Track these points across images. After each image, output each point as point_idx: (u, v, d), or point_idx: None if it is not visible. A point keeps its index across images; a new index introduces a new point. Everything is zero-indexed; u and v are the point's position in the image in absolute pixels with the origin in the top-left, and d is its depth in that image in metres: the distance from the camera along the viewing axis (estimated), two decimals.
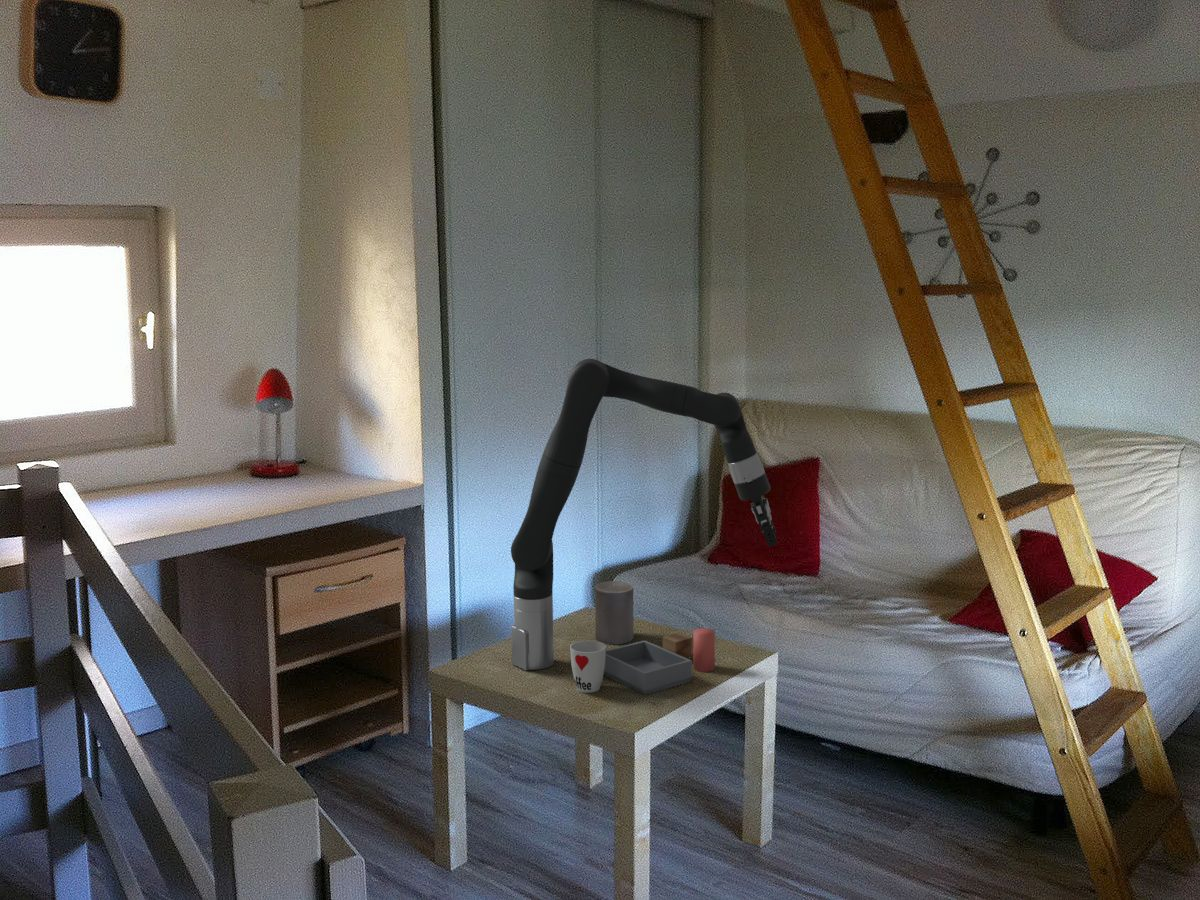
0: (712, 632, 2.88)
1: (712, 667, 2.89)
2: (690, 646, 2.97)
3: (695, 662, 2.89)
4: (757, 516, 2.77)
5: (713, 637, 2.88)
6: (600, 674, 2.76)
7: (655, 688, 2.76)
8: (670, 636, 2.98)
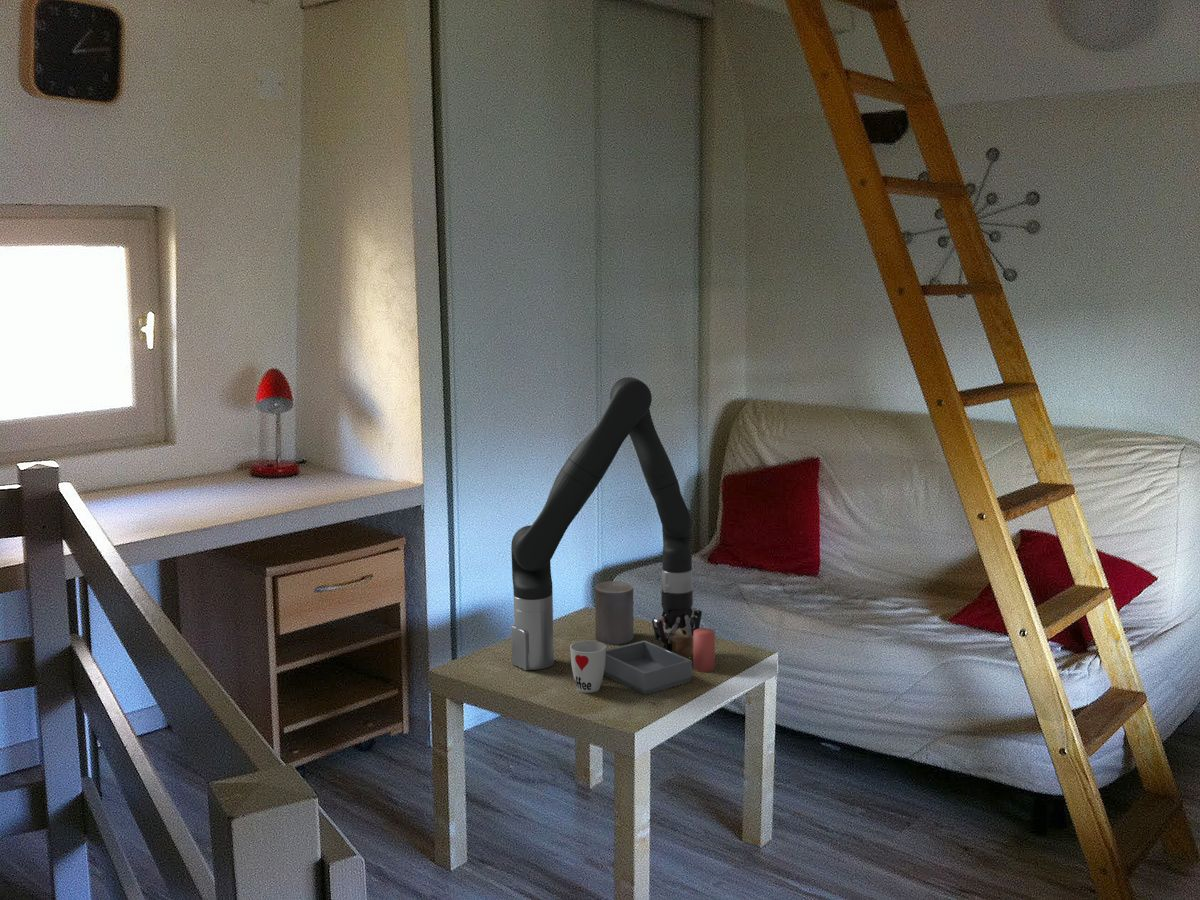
0: (712, 632, 2.88)
1: (712, 667, 2.89)
2: (690, 646, 2.97)
3: (695, 662, 2.89)
4: (654, 628, 2.94)
5: (713, 637, 2.88)
6: (600, 674, 2.76)
7: (655, 688, 2.76)
8: None
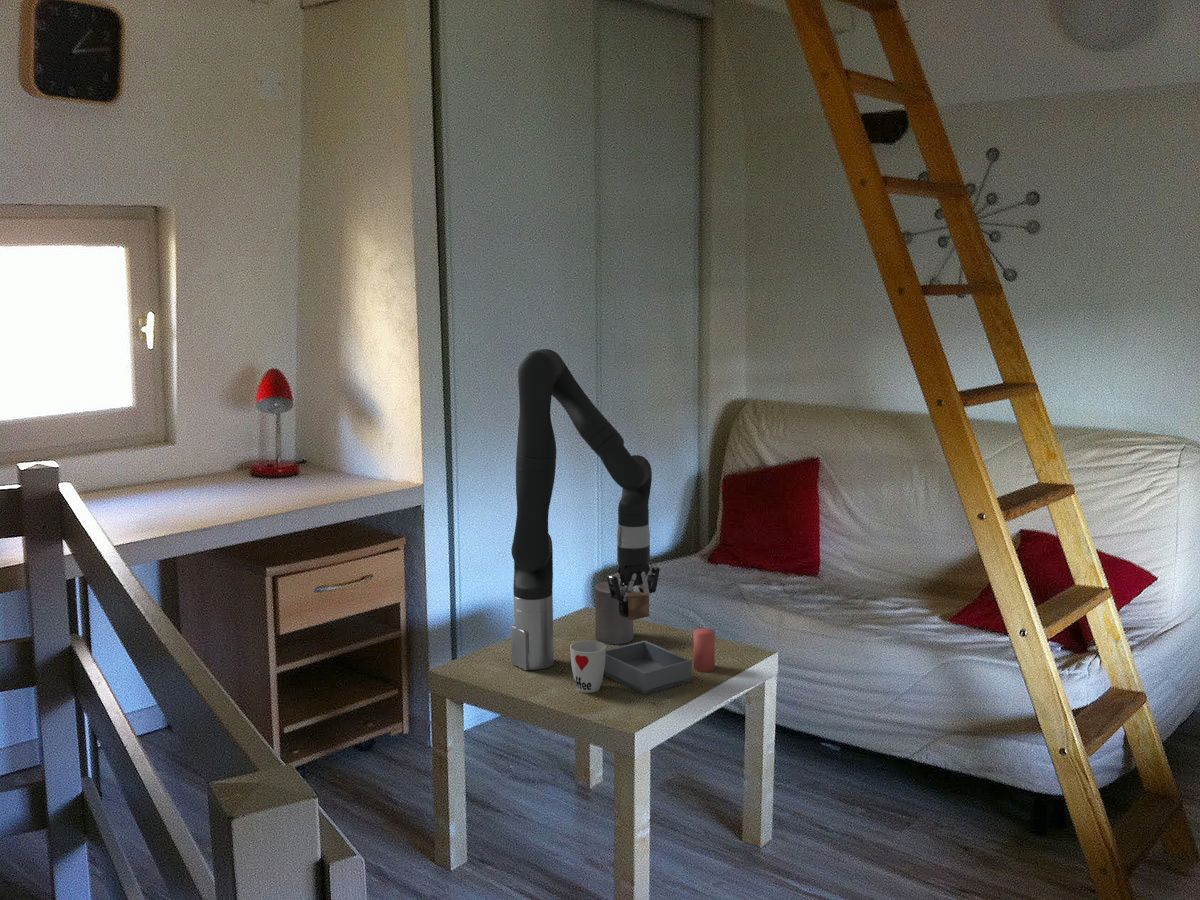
0: (712, 632, 2.88)
1: (712, 667, 2.89)
2: (647, 604, 2.85)
3: (695, 662, 2.89)
4: (609, 584, 2.82)
5: (713, 637, 2.88)
6: (600, 674, 2.76)
7: (655, 688, 2.76)
8: None
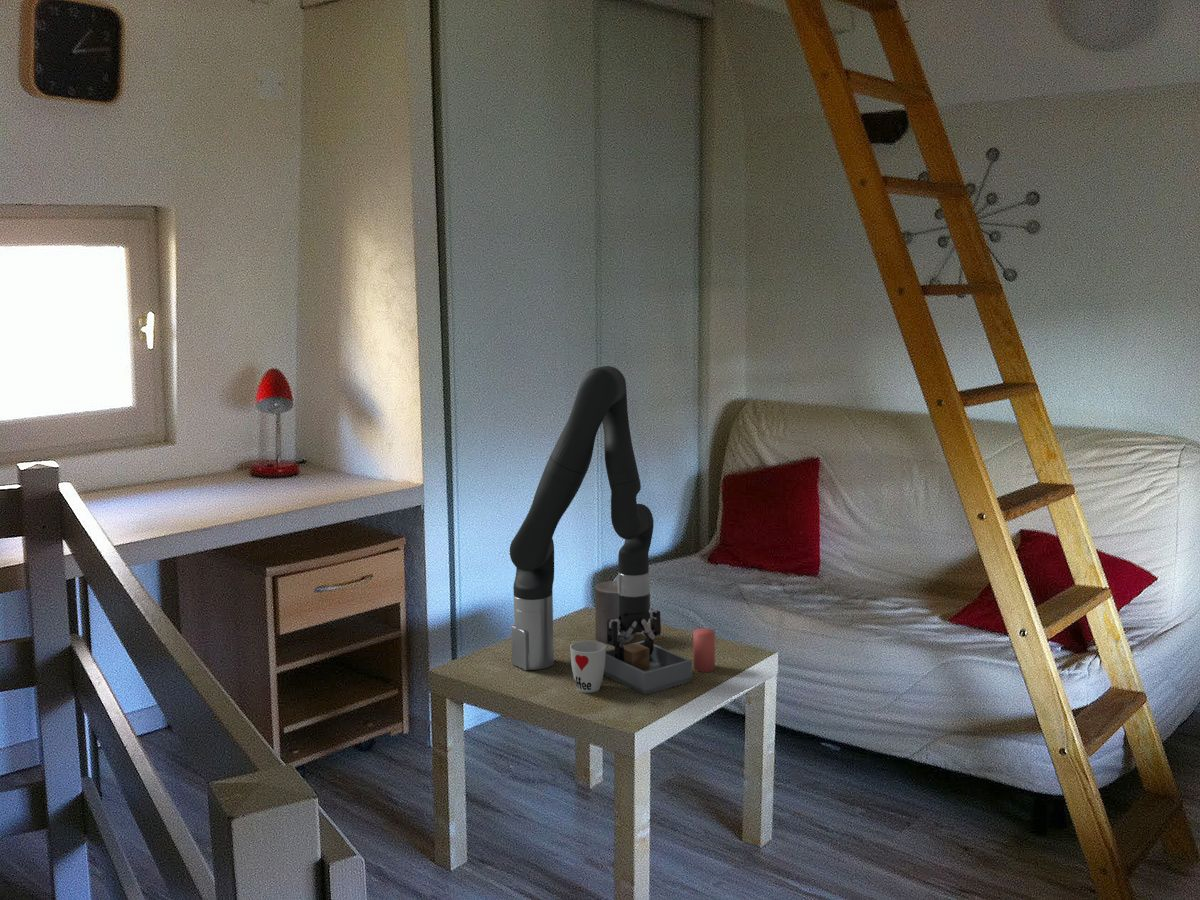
0: (712, 632, 2.88)
1: (712, 667, 2.89)
2: (648, 657, 2.87)
3: (695, 662, 2.89)
4: (607, 629, 2.83)
5: (713, 637, 2.88)
6: (600, 674, 2.76)
7: (655, 688, 2.76)
8: (627, 646, 2.88)
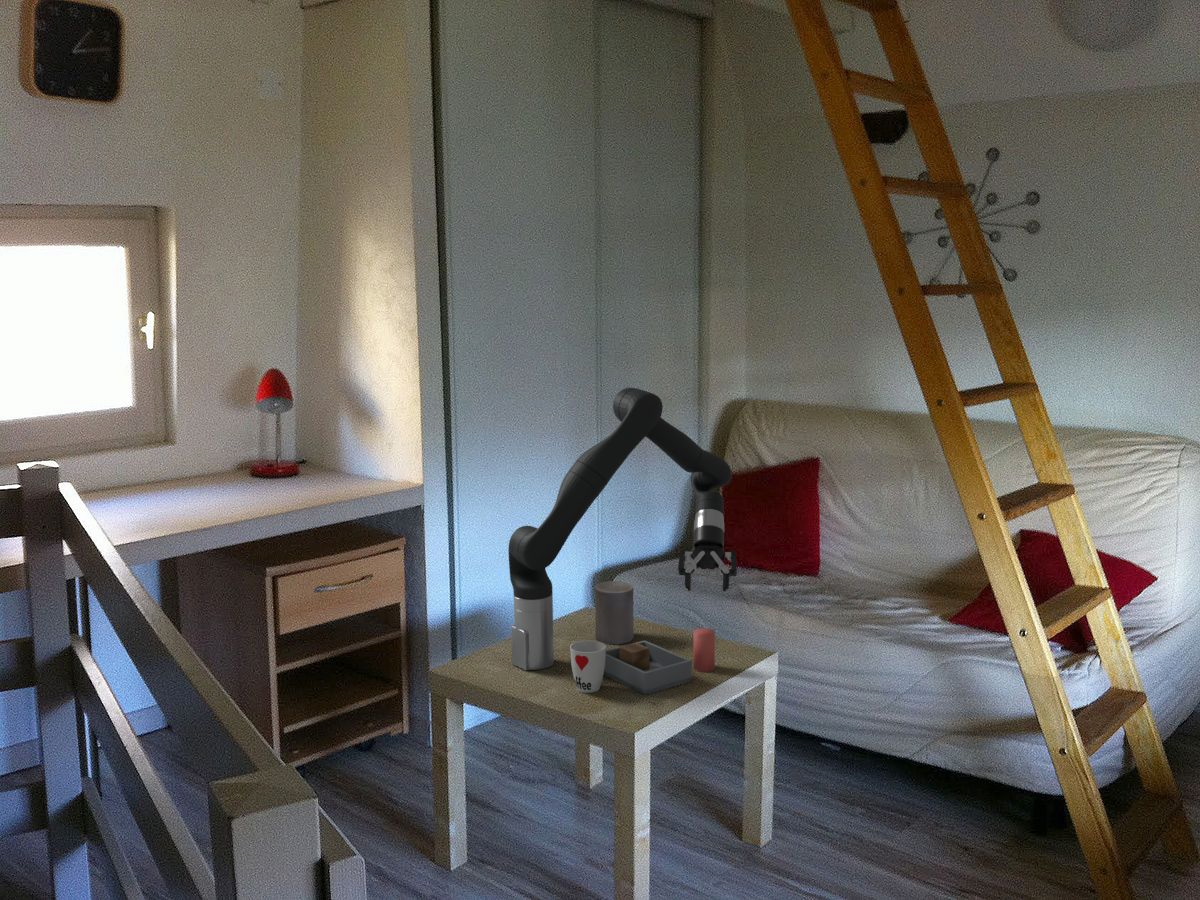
0: (712, 632, 2.88)
1: (712, 667, 2.89)
2: (648, 657, 2.87)
3: (695, 662, 2.89)
4: None
5: (713, 637, 2.88)
6: (600, 674, 2.76)
7: (655, 688, 2.76)
8: (627, 646, 2.88)
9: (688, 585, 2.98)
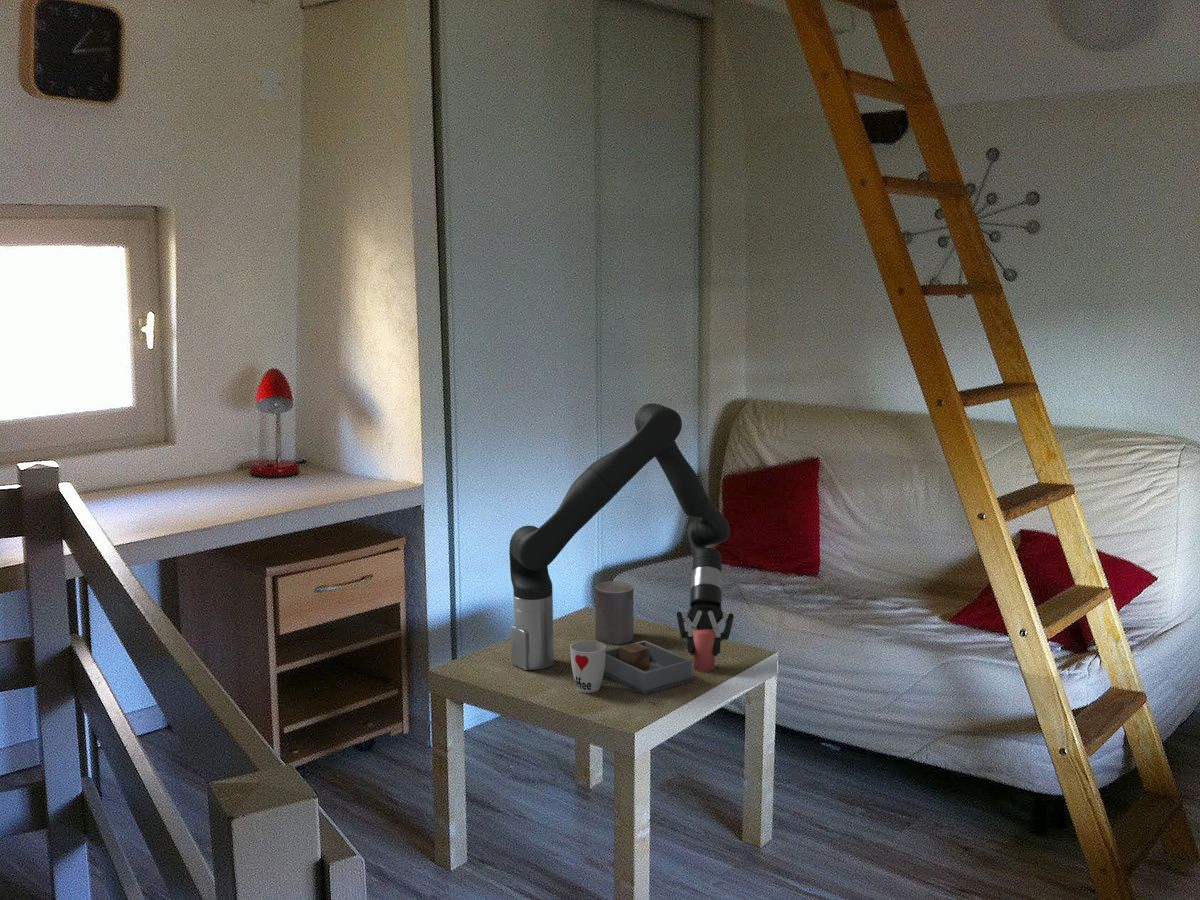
0: (712, 632, 2.88)
1: (712, 667, 2.89)
2: (648, 657, 2.87)
3: (695, 662, 2.89)
4: (731, 622, 2.91)
5: (713, 637, 2.88)
6: (600, 674, 2.76)
7: (655, 688, 2.76)
8: (627, 646, 2.88)
9: (691, 650, 2.88)
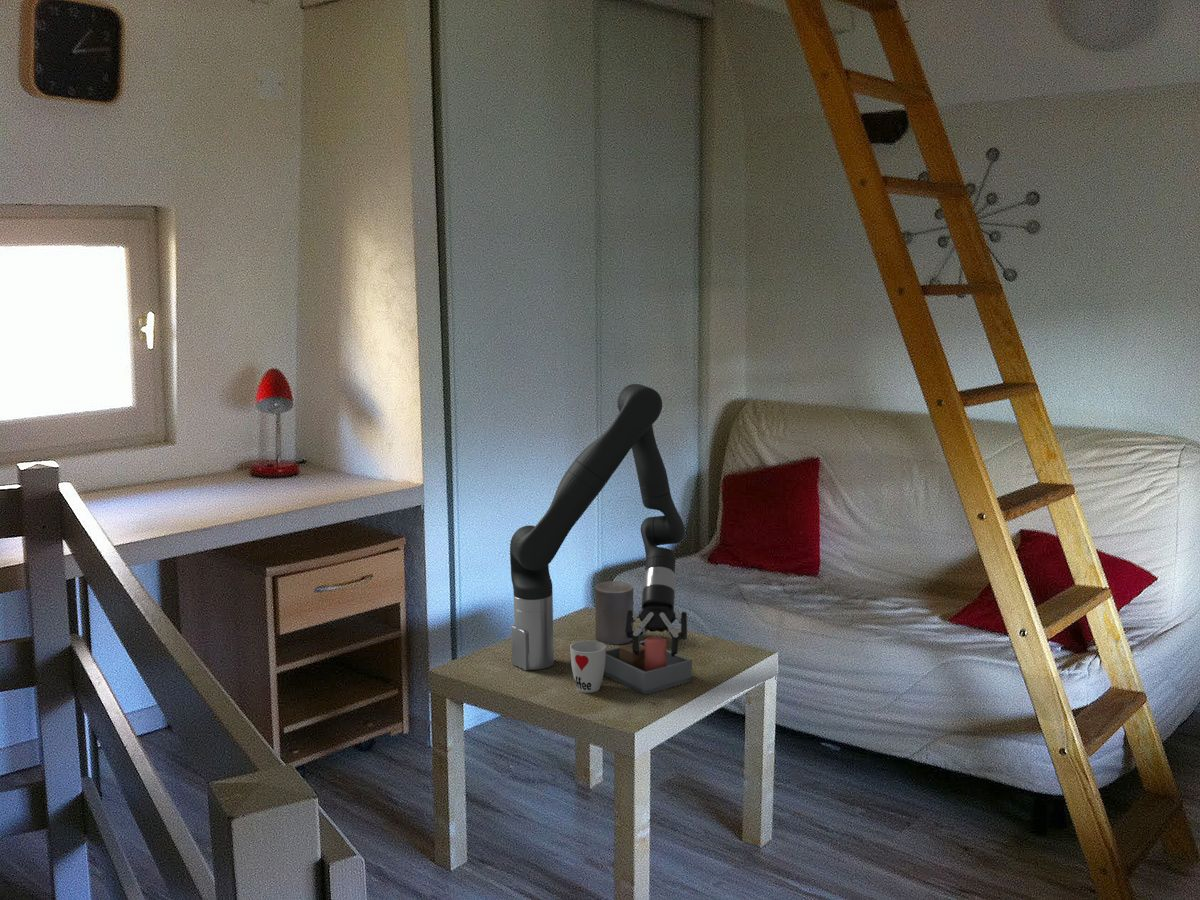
0: (663, 640, 2.80)
1: None
2: None
3: (646, 671, 2.80)
4: (686, 621, 2.82)
5: (664, 645, 2.79)
6: (600, 674, 2.76)
7: (655, 688, 2.76)
8: (627, 646, 2.88)
9: (636, 649, 2.79)
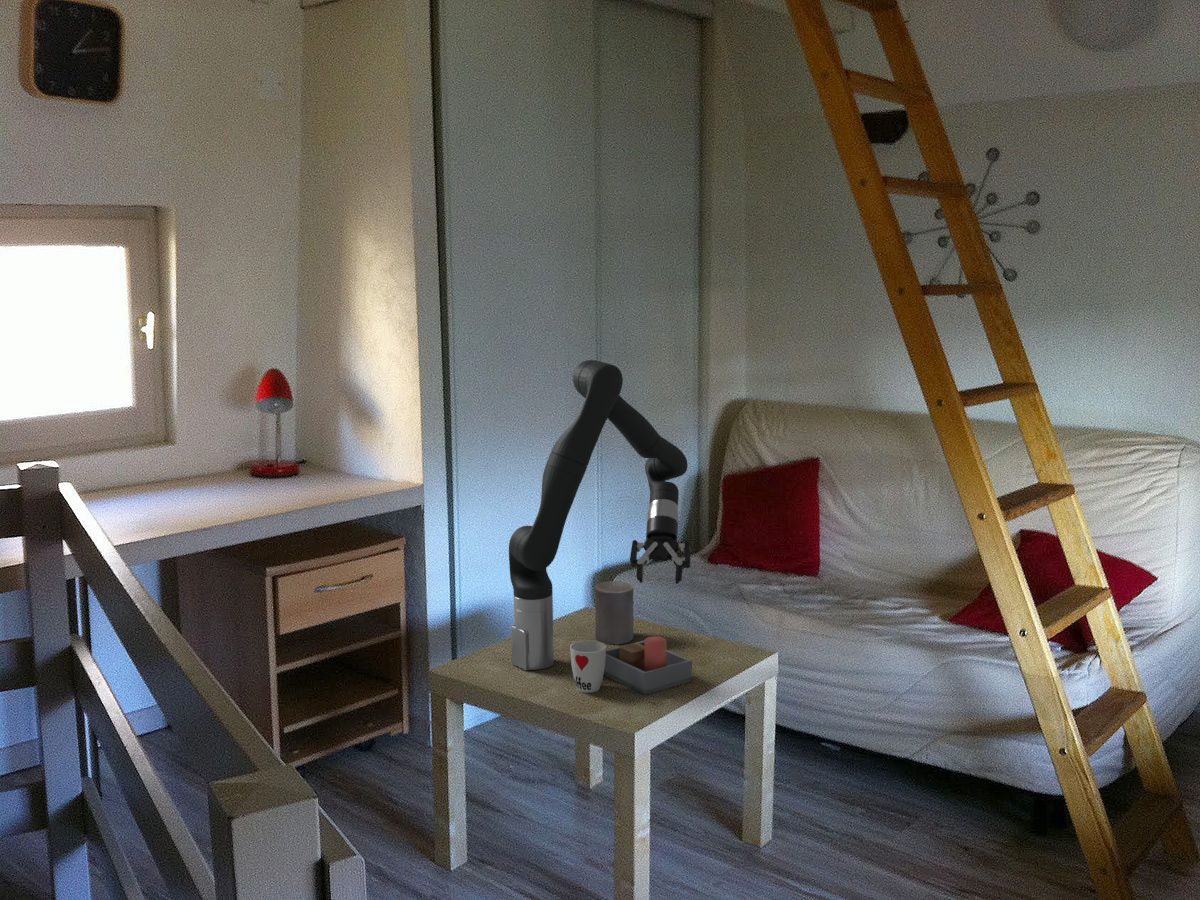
0: (664, 640, 2.80)
1: None
2: None
3: (646, 671, 2.80)
4: (689, 549, 2.92)
5: (664, 646, 2.79)
6: (600, 674, 2.76)
7: (655, 688, 2.76)
8: (627, 646, 2.88)
9: (640, 577, 2.89)
